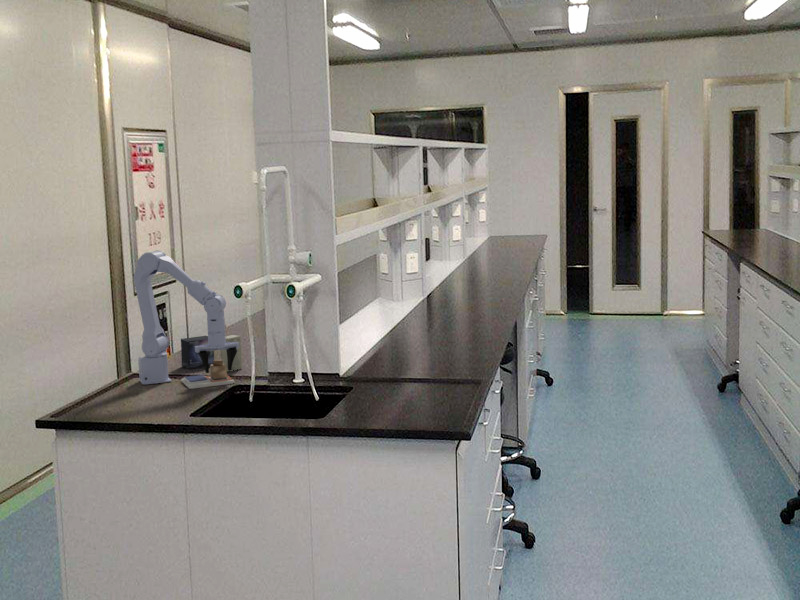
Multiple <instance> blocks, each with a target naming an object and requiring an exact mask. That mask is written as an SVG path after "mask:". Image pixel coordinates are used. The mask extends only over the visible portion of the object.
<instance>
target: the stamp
mask: <svg viewBox="0 0 800 600" xmlns="http://www.w3.org/2000/svg"><path fill="white" fill-rule="evenodd" d="M209 368H210V369H209V373H210V375H211V379H213V380H222V379H227V375H228V373H227V372H228V371H227V370H226V365H225V364H223V360H221V358H220V359H218V358H217V359H214V360H213V364H211V365H210V366H209Z"/></svg>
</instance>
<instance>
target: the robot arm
mask: <svg viewBox="0 0 800 600" xmlns="http://www.w3.org/2000/svg"><path fill="white" fill-rule="evenodd" d="M136 264H137V265H136V268H135V270H134V274H133V284H134V287H135V292H136V296H137V302H138V306H139V311H140V316H141V320H142V326H143V332H142V335H141V338H142V343H141V350H142V352H143V354H144V356H140V357H138V360H137V361H138V364H137V365H138V376H139V378H138V379H139V382H140V383H141V385H143V386H145V385H153V384H159V383H160V384H163V383H170V382H172V381H173V380H172V379H171V378H170V377H169V363H168V362H169V361H168V352H167V349H168V348H169V346H170V341H169V338H168V337H167V335H166V333H165V330H164V329H163V327H162V326H161V323H160V319H159V314H158V310H157V304H156V300H155V295H154V290H153V284H152V279H153V278H154V277H155V275H156V274H157V273H165V274H169V275H170V276H172V277H173V278H174V279H176V281H178V282H179V283H180V284H182V285H183V286H185V287H186V289H187V290H186V291H187V294H189V295H190V296H191V297H192V298H193V299H194V300H196V302H198V303H199V304H200V305H201V306H203V309H204V311H205V313H206V321H207V322H206V323H207V336H208V344H206V345H200V346H195V352H196V353H198V354H199V356H200V358H201V360H202V362H203V365H204V367H203V368H204V372H205V373H206V374H209V373H210V369H209V368H210V366H208V354H207V352H206V351H214V352H215V351H221V350H224V349H226V351H227V359H228V370H229V371H230V372H232V371H231V369H232V364H233V360H234V357H235V355H236V353H237V350H236V349H238V348H239V343H238V342H228V343H226V338H225V336H226V321H225V319H226V318H225V308H226V306H227V302H226V299H225V297H223V295H221V294H217V292H216V291H213V290H212V289H211V288H209V287H208V285H206V284H207V283H206V282H205V281H204V280H203V281H201V280H200V279H193V278H192V277H191V276H190V275H189V274H188V273H187V272H185V270H184V269H182V267H180V266H179V265H178V264H177V263H176V262H175V261H174V260H173V258H171V256H169V255H166V253H165V252H164V251H162V250H154V251H151V252H144V253H143V254H142V255H141V256H140V257H139V258H138V259H137V260H136Z"/></svg>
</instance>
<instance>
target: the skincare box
mask: <svg viewBox="0 0 800 600" xmlns="http://www.w3.org/2000/svg"><path fill="white" fill-rule="evenodd" d="M225 338H226V343H228V342H238V343H239V348H238V349H236V350H237V353H236V355H235V357H234V360H233V364H232V369H231V371H230V372H234V371H237V369H238V370H241V369H243V362H242V361H243V360H242V340H241V335H235V334H231V335H230V334H229V335H225ZM220 359H221V360H223V364H225V365H226V370H227V372H228V371H229V370H228V359H227V351H226V349H224V350H220ZM233 370H234V371H233Z"/></svg>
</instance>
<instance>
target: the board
mask: <svg viewBox="0 0 800 600" xmlns="http://www.w3.org/2000/svg"><path fill="white" fill-rule="evenodd" d="M181 383H183V385H185V386H186V387H187V388H188V389H189V390H191V389H193V390H194V389H199V388H200V389H201V388H209V387H215V386H217V387H218V386H225V385H232V384H233V383H234V384H235V383H236V382H235V380H234V379H233V378H232V377H231V376H229V375H228V374H227V379H222V380H213V379H211V374H210V375H203V374H200V375H199V374H198V375H190V376H185V377H183V378H181Z"/></svg>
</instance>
